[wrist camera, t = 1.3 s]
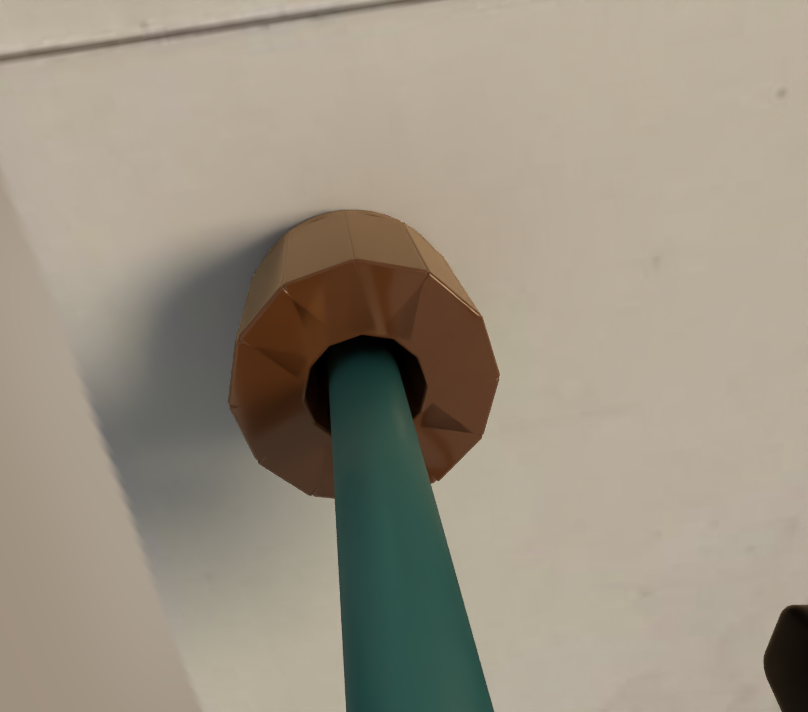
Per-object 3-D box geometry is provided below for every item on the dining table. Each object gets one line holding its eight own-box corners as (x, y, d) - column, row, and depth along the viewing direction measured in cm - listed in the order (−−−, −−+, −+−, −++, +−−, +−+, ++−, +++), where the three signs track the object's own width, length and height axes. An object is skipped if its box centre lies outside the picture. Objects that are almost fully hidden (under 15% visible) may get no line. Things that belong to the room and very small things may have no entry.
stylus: (390, 332, 17) (579, 996, 5) (337, 351, 17) (398, 1057, 5) (371, 281, 16) (536, 896, 4) (316, 301, 16) (331, 966, 4)
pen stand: (475, 362, 18) (523, 453, 14) (296, 425, 18) (291, 534, 14) (417, 179, 16) (455, 222, 12) (215, 251, 16) (182, 320, 12)
